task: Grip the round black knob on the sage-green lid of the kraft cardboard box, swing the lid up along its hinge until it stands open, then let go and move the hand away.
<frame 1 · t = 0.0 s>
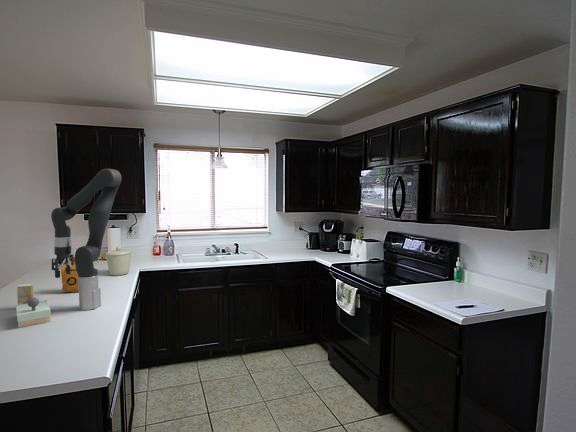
hand: (63, 275, 183), 17 cm above the countertop, tool pointing down, fingers open, 8 cm apart
mailer box: (33, 319, 167), on the countertop
skincare box: (26, 308, 185), on the countertop
canister: (119, 274, 261), on the countertop
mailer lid: (32, 304, 166), point 7 cm above the countertop, hinge at 0.0°
coffee package: (73, 291, 215), on the countertop
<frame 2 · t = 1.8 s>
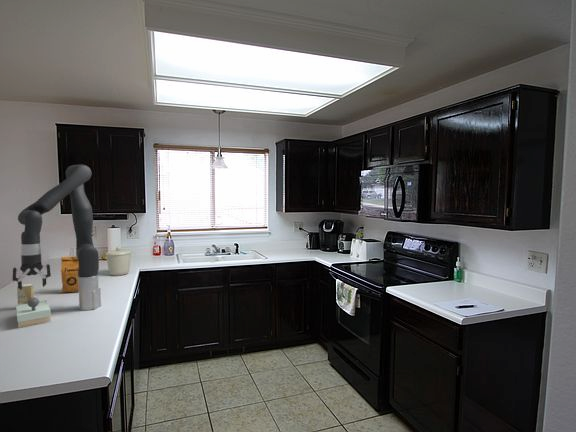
hand: (32, 287, 162), 17 cm above the countertop, tool pointing down, fingers open, 8 cm apart
nothing on the countertop moved.
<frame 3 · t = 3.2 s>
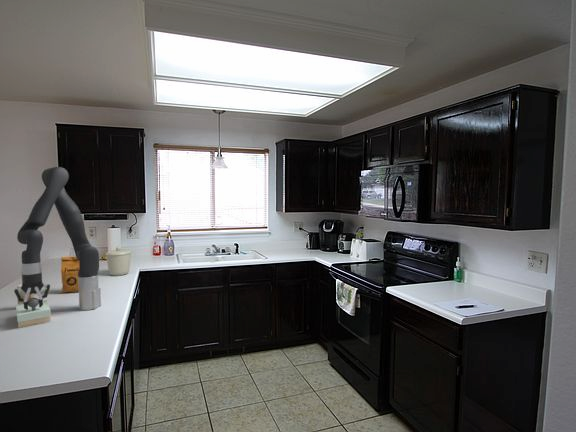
hand: (33, 308, 162), 7 cm above the countertop, tool pointing down, fingers closed on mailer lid, 4 cm apart
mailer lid: (32, 304, 166), point 7 cm above the countertop, hinge at 0.0°, touching gripper
everything else where it was.
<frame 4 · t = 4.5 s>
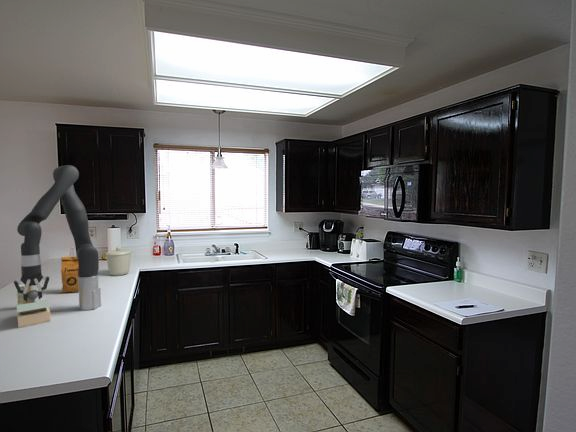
hand: (32, 299, 163), 11 cm above the countertop, tool pointing down, fingers closed on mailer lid, 4 cm apart
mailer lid: (32, 299, 167), point 10 cm above the countertop, hinge at 13.3°, touching gripper
everything else where it was.
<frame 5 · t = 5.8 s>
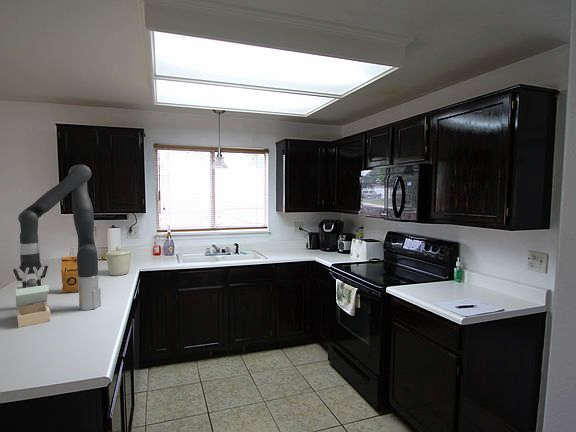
hand: (31, 287, 166), 15 cm above the countertop, tool pointing down, fingers closed on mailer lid, 4 cm apart
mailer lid: (31, 292, 168), point 13 cm above the countertop, hinge at 36.0°, touching gripper
everything else where it was.
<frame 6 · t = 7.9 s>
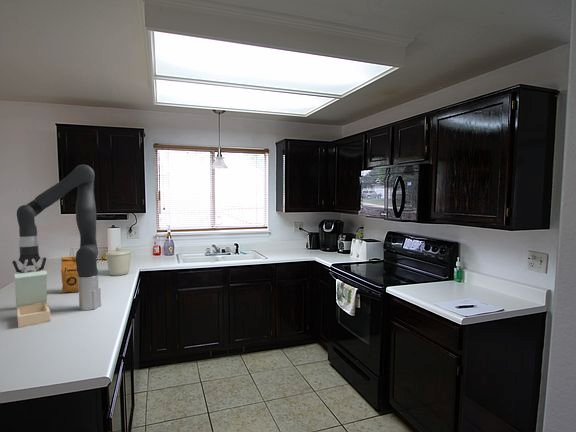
hand: (30, 279, 172), 18 cm above the countertop, tool pointing down, fingers open, 4 cm apart
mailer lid: (31, 286, 172), point 15 cm above the countertop, hinge at 64.6°
everything else where it was.
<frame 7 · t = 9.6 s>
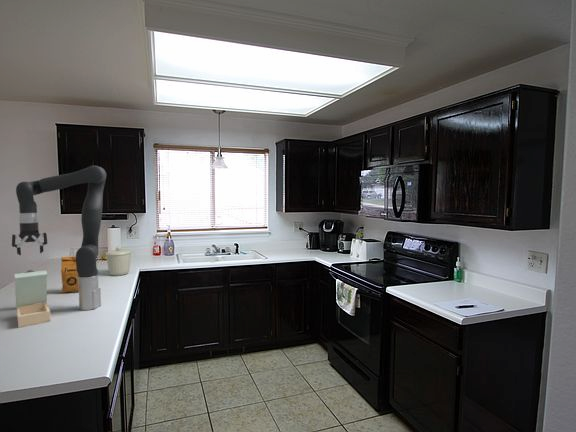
hand: (30, 254, 174), 30 cm above the countertop, tool pointing down, fingers open, 8 cm apart
nothing on the countertop moved.
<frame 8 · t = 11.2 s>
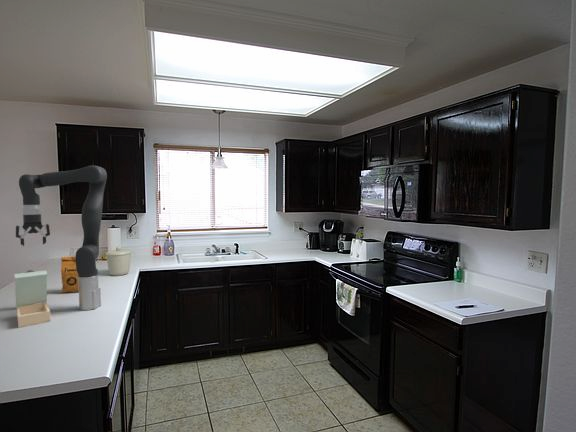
hand: (33, 244, 179), 34 cm above the countertop, tool pointing down, fingers open, 8 cm apart
nothing on the countertop moved.
at the end: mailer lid at +65° (first picture: +0°); the gripper is holding nothing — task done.
